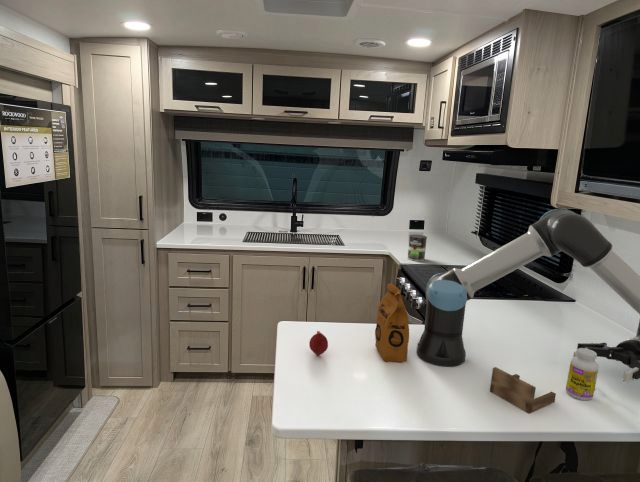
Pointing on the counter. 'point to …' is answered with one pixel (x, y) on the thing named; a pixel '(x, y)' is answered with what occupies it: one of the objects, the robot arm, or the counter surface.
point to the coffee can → (417, 247)
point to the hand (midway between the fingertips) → (598, 366)
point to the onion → (318, 343)
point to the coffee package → (392, 327)
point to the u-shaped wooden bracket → (518, 391)
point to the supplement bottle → (582, 374)
